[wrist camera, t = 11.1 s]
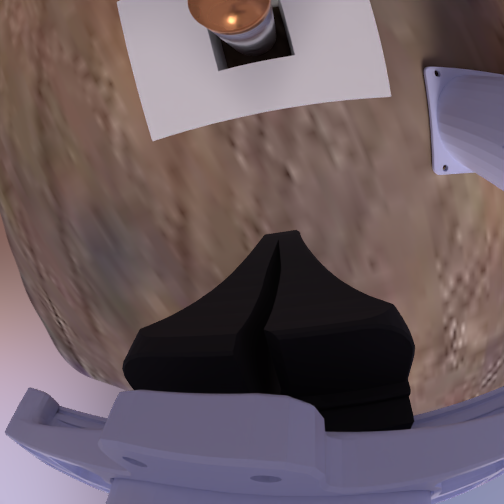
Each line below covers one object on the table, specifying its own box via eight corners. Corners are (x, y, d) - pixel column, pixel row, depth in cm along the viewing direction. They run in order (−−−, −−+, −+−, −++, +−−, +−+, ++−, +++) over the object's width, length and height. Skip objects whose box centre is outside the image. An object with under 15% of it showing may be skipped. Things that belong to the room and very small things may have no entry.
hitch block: (340, -34, 11) (349, -54, 8) (373, 94, 16) (391, 96, 13) (141, 11, 14) (116, 2, 11) (172, 132, 19) (152, 141, 16)
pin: (273, 13, 14) (263, -39, 7) (278, 53, 16) (273, 25, 8) (227, 19, 15) (184, -26, 7) (232, 58, 16) (191, 37, 8)
